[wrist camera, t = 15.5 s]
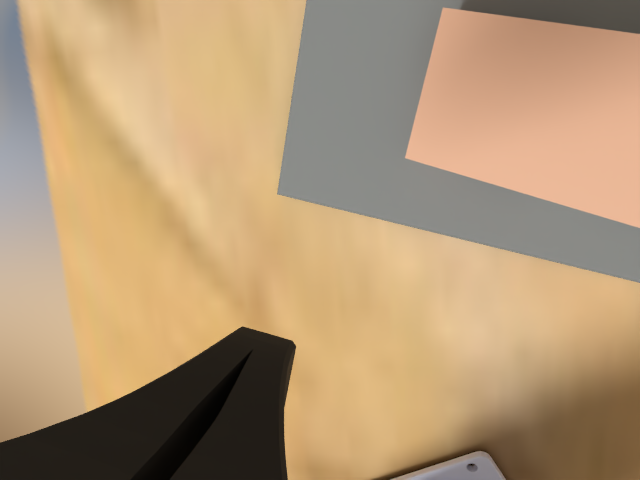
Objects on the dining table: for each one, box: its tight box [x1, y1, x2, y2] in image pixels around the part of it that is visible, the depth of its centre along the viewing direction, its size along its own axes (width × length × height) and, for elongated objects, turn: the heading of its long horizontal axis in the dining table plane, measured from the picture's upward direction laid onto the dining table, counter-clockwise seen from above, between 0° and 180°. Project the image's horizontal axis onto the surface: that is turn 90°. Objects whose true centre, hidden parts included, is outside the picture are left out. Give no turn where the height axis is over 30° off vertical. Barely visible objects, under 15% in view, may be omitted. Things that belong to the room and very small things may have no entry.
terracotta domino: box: [405, 8, 640, 228], centre depth 15 cm, size 2×5×9 cm
